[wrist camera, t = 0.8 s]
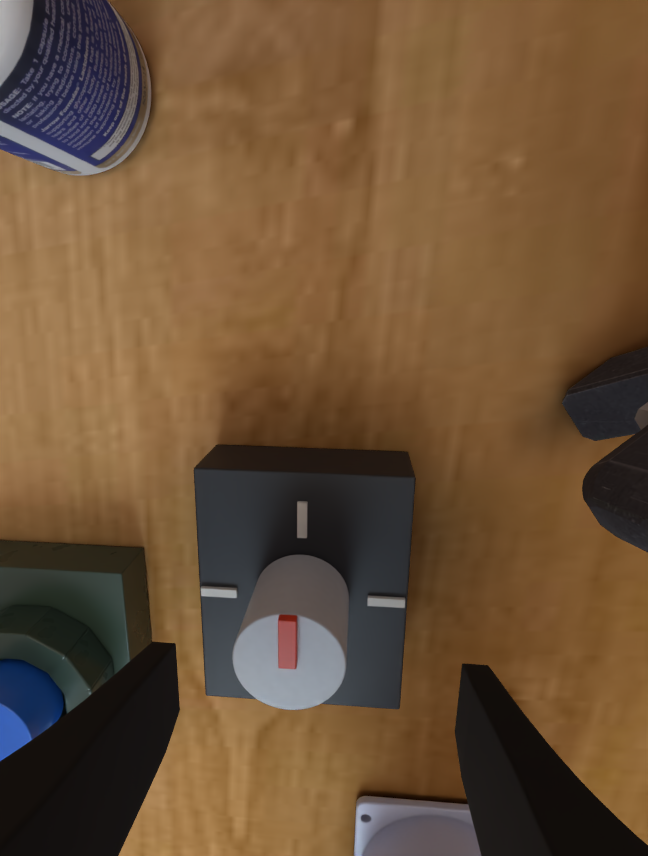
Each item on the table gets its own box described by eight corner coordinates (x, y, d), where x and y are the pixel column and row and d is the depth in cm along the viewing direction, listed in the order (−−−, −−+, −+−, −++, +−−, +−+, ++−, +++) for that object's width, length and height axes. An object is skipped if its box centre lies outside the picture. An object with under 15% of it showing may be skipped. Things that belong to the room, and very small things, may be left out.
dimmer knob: (347, 639, 19) (344, 722, 16) (256, 633, 20) (231, 714, 16) (350, 556, 18) (347, 623, 15) (254, 551, 19) (227, 616, 15)
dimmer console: (395, 658, 23) (400, 713, 20) (224, 647, 24) (203, 699, 20) (408, 451, 20) (416, 478, 17) (216, 443, 21) (191, 469, 18)
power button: (68, 733, 21) (38, 779, 19) (-13, 727, 21) (-52, 771, 19) (58, 661, 20) (25, 701, 18) (-27, 655, 20) (-70, 694, 18)
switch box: (159, 727, 25) (122, 806, 21) (7, 715, 26) (-56, 790, 22) (144, 547, 22) (99, 599, 19) (-25, 538, 23) (-103, 587, 19)
